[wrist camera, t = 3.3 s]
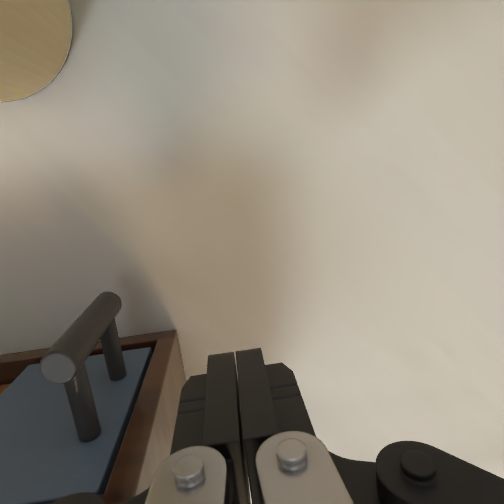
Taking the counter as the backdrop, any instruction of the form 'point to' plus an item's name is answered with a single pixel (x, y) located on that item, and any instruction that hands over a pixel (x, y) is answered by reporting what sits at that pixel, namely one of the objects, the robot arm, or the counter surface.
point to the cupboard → (144, 413)
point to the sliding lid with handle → (70, 411)
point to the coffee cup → (32, 45)
